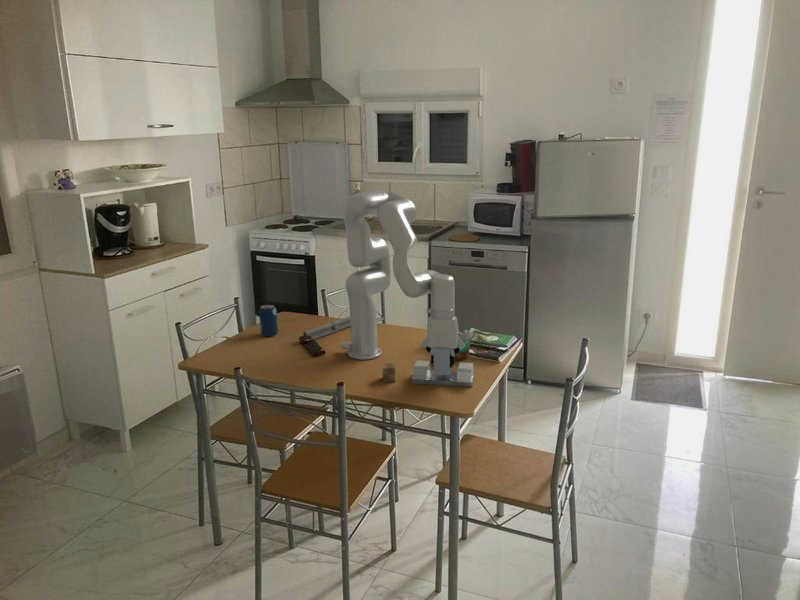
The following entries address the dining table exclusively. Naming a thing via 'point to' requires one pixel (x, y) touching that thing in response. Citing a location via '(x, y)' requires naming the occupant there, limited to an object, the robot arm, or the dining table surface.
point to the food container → (466, 339)
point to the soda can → (268, 320)
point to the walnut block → (388, 372)
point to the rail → (458, 378)
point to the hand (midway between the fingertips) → (442, 365)
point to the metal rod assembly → (331, 325)
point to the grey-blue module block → (442, 361)
